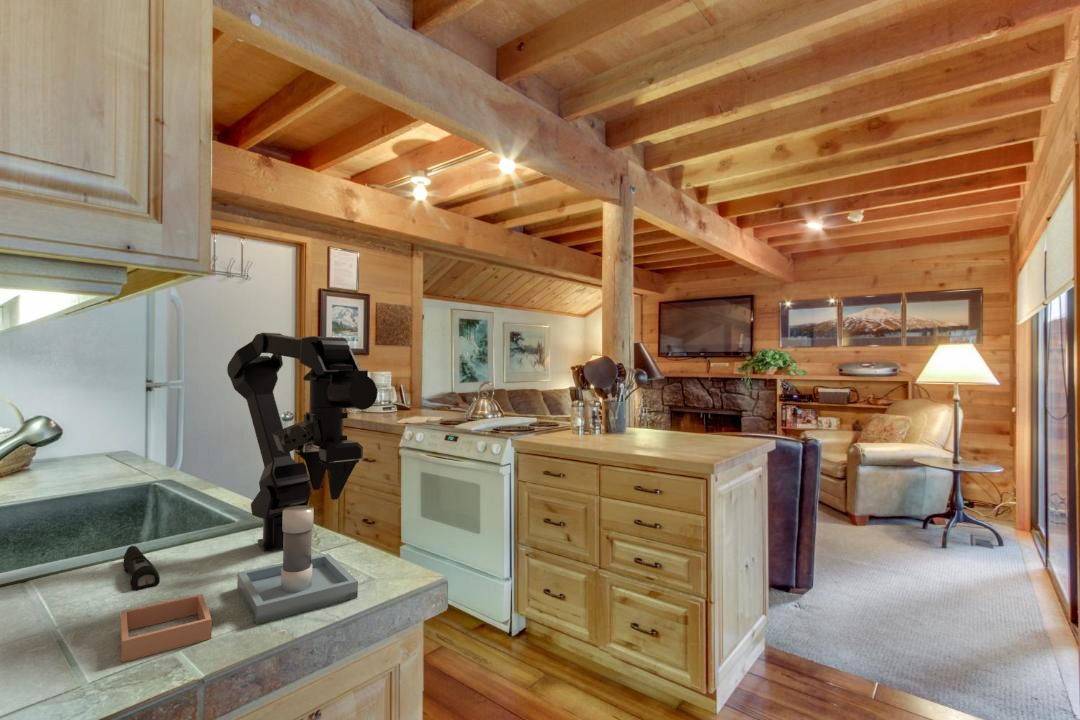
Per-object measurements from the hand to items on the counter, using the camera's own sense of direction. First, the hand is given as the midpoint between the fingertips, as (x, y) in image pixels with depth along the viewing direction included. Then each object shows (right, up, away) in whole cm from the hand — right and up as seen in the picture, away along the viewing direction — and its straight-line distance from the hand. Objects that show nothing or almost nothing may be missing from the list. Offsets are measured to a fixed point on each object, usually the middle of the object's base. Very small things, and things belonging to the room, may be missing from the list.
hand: (325, 494), depth 96 cm
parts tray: (0, -12, -12) cm, 17 cm away
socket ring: (-11, -12, -25) cm, 30 cm away
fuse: (0, -11, -12) cm, 17 cm away
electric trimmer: (-28, -12, -7) cm, 32 cm away
